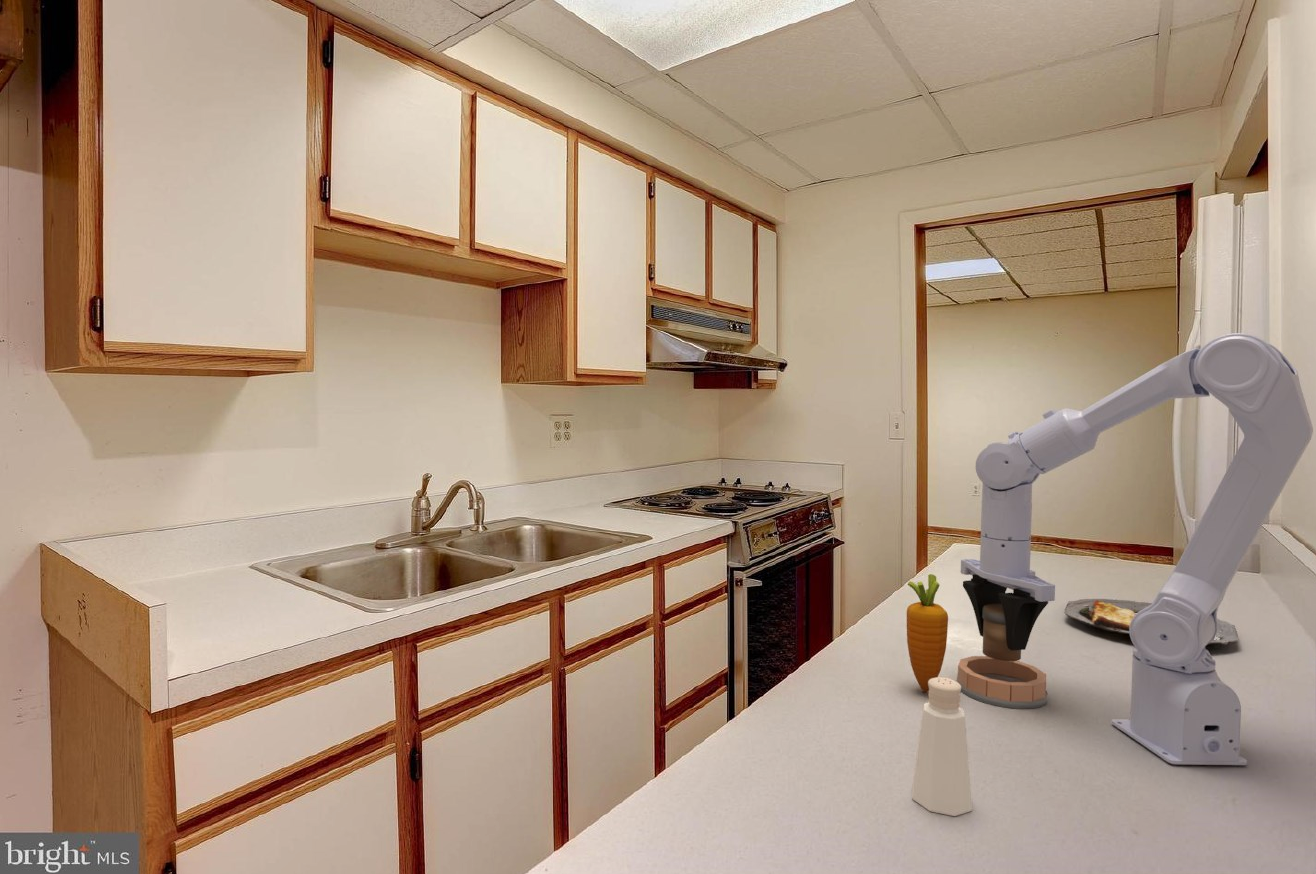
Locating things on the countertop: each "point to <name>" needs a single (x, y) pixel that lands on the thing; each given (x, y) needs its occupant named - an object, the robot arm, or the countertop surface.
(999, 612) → the walnut pepper mill
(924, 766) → the salt shaker
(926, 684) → the carrot
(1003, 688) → the coaster
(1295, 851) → the countertop surface
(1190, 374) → the robot arm
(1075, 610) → the food plate
